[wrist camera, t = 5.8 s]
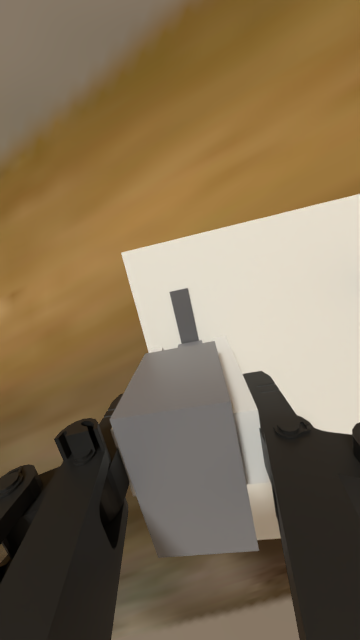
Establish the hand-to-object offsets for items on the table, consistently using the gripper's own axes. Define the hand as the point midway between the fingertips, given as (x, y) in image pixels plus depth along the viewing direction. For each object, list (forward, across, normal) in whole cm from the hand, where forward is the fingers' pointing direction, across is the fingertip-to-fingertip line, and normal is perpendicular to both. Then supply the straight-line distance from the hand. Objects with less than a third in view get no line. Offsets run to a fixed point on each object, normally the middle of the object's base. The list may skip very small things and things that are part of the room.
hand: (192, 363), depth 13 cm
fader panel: (+5, +6, -6) cm, 10 cm away
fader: (+2, 0, 0) cm, 2 cm away
